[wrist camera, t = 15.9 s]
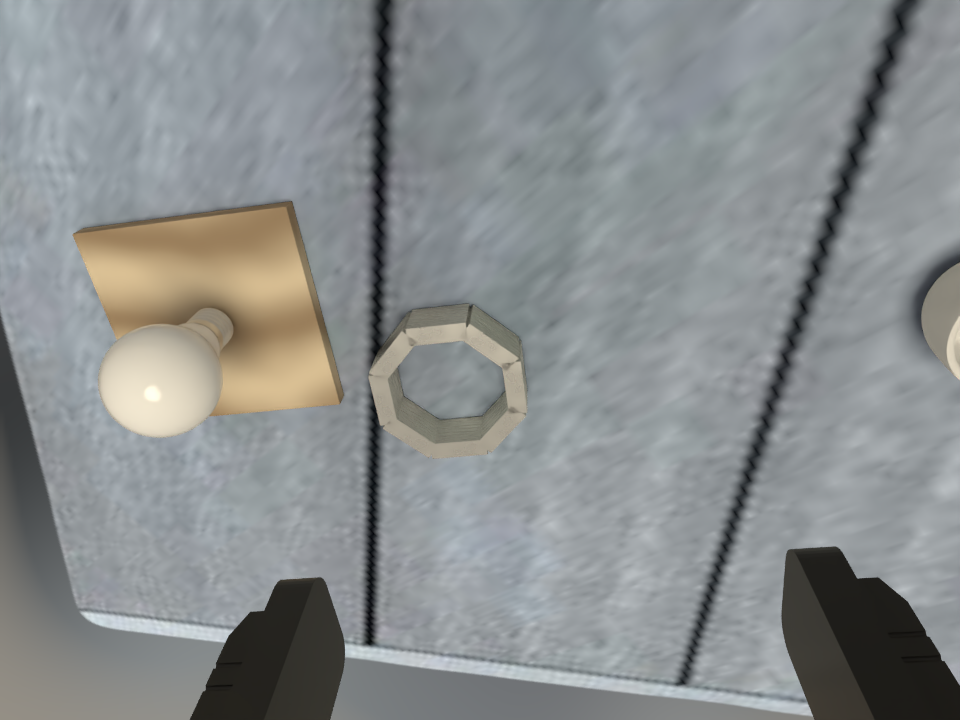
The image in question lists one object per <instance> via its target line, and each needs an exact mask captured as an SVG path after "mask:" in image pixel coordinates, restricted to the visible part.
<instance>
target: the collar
mask: <svg viewBox="0 0 960 720" xmlns="http://www.w3.org/2000/svg"><path fill="white" fill-rule="evenodd" d="M455 341H464V342H466V343H467V344H468V345H470V346H471V347H473V348H474V349H476V350H477V351H479V352H480V353H481V354H483V355H484V356H486V357H487V358H489V359H490V360H491V361H493V362H494V363H496V364H497V365H499V366H500V367H502V369H503V375H504V382H505V389H506V391H505V392H504V393H503V394H502V395H501V397H500V398H499V399H498V400H497V401H496V402H495V403H494V404H493V405H492V406H491V407H490V409H489V410H488V411H487V412H486V413H485V414H484V415H483V416H479V417H468V418H456V419H445V420H439V419H437V418H436V417H434V416H433V415H431V414H430V413H428V412H427V411H425V410H424V409H422V408H421V407H419V406H418V405H416V404H414V403H413V402H411V401H410V400H408V399H407V398H405V397H404V395H403V390H402V386H401V381H400V377H399V372H398V368H397V367H398V366H399V364H400V363H401V362H402V361H403V359H404V358H405V357H406V356H407V354H408V353H409V352H410V351H411V349H412V348H413V347H414V346H416V345H426V344H436V343H446V342H455ZM369 373H370V374H369V376H368V377H369V381H370V385H371V389H372V393H373V397H374V401H375V405H376V409H377V413H378V417H379V422H380V425H384V426H383V429H384V430H386V431H387V432H389V433H391V434H392V435H394V436H395V437H397V438H398V439H400V440H402V441H403V442H405V443H406V444H408V445H409V446H411V447H413V448H414V449H416V450H417V451H419V452H420V453H422V454H424V455H425V456H427V457H428V458H429V457H430V456H431V455H432V457H433V459H437V458H449V457H461V456H473V455H485V454H488V451H489V452H492V451H493V450H494V449H495V448H496V447H497V446H498V445H499V444H500V443H501V442H502V441H503V440H504V439H505V438H506V437H507V435H508V434H509V433H510V432H511V431H512V430H513V429H514V428H515V427H516V426H517V425H518V424H519V423H520V422H521V421H522V420H523V419H524V418H525V417H526V412H527V383H526V375H525V368H524V360H523V352H522V344H521V340H520V341H519V337H518V336H517V335H515V334H514V333H512V332H511V331H510V330H508V329H507V328H505V327H504V326H503V325H501V324H500V323H498V322H497V321H496V320H494V319H493V318H491V317H490V316H489V315H487V314H486V313H484V312H483V311H482V310H480V309H479V308H477V307H476V306H475V305H473V306H472V307H471V308H470V305H469V304H460V305H451V306H442V307H432V308H423V309H414V310H412V312H411V313H410V312H408V313H407V315H406V316H405V317H404V319H403V320H402V321H401V322H400V324H399V325H398V326H397V328H396V329H395V330H394V331H393V333H392V334H391V335H390V337H389V338H388V339H387V340H386V342H385V343H384V344H383V346H382V347H381V348H380V349H379V351H378V352H377V355H376V357H375V360H374V362H373V365H372V367H371V369H370V372H369Z"/></svg>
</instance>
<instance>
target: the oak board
mask: <svg viewBox="0 0 960 720" xmlns="http://www.w3.org/2000/svg"><path fill="white" fill-rule="evenodd" d="M73 237H74V239H75V242H76V244H77V246H78V249H79V251H80V253H81V256H82V258H83V260H84V263H85V265H86V268H87V270H88V272H89V275H90V277H91V279H92V282H93V284H94V286H95V289H96V291H97V294H98V296H99V298H100V301H101V303H102V305H103V308H104V310H105V312H106V315H107V317H108V320H109V322H110V324H111V327H112V329H113V331H114V334H115V336H116V339H117V340H118V339H119V338H121V337H122V336H123V335H125V334H126V333H128V332H130V331H132V330H134V329H136V328H139V327H142V326H146V325H151V324H172V325H180V324H183V323H186V322H187V321H188V320H189V319H190V318H192V316H194V315H195V313H196V312H198V311H199V310H201V309H204V308H215V309H218V310H220V311H222V312H223V313H225V314H226V315H227V316H228V317H229V319H230V320H231V322H232V324H233V330H234V331H233V336H232V338H231V339H230V340H229V342H228V343H227V344H226V345H225V346H224V347H223V349H222V350H221V351H220V357H219V361H220V363H221V367H222V372H223V388H222V393H221V396H220V399H219V401H218V403H217V405H216V407H215V409H214V410H213V412H212V413H211V414H210V416H219V415H229V414H240V413H251V412H261V411H272V410H283V409H294V408H304V407H315V406H326V405H336V404H340V403H341V401H342V398H343V396H344V394H343V390H342V386H341V383H340V379H339V375H338V371H337V368H336V364H335V360H334V357H333V353H332V349H331V345H330V342H329V338H328V334H327V331H326V327H325V323H324V319H323V316H322V312H321V308H320V304H319V301H318V297H317V293H316V290H315V286H314V282H313V278H312V275H311V271H310V267H309V264H308V260H307V256H306V252H305V249H304V245H303V241H302V237H301V234H300V230H299V226H298V223H297V219H296V215H295V211H294V208H293V204H292V201H290V202H283V203H275V204H267V205H260V206H252V207H244V208H237V209H229V210H221V211H214V212H206V213H198V214H191V215H183V216H175V217H168V218H160V219H152V220H144V221H137V222H129V223H121V224H114V225H106V226H98V227H91V228H83V229H81V230H79V231H78V232H76V233H74V234H73Z"/></svg>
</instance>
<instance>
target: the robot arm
mask: <svg viewBox="0 0 960 720" xmlns="http://www.w3.org/2000/svg"><path fill="white" fill-rule="evenodd" d="M782 628H783V634H784V639H785V643H786V647H787V650H788V653H789V656H790V658H791V661H792V663H793V666H794V669H795V671H796V674H797V676H798V679H799V681H800V684H801V686H802V689H803V691H804V694H805V697H806V699H807V702H808V704H809V707H810V709H811V712H812V714H813V717H814V719H815V720H960V685H959V684H958V682H957V681H956V679H955V677H954V676H953V674H952V673H951V671H950V669H949V668H948V666H947V664H946V663H945V661H942V660H941V655H940V653H939V652H938V650H937V648H936V647H935V645H934V644H933V642H932V640H931V639H930V637H927V636H926V631H925V629H924V627H923V626H922V624H921V623H920V621H919V619H918V618H917V616H916V615H915V613H914V611H913V610H912V608H911V606H910V605H909V603H908V602H907V601H906V600H905V599H904V598H902V597H901V596H900V595H899V594H898V593H896V592H895V591H894V590H893V589H892V588H890V587H889V586H888V585H887V584H886V583H884V582H883V581H882V580H881V579H880V578H860V579H857V578H856V576H855V574H854V572H853V570H852V569H851V567H850V565H849V563H848V561H847V560H846V558H845V556H844V554H843V553H842V551H841V550H840V549H839V548H838V547H820V548H804V549H789V550H788V551H787V554H786V561H785V574H784V587H783V600H782ZM344 660H345V644H344V638H343V634H342V631H341V627H340V624H339V621H338V618H337V615H336V612H335V609H334V606H333V603H332V600H331V597H330V594H329V591H328V588H327V585H326V583H325V581H324V579H323V578H321V577H318V578H302V579H286V580H280V581H279V582H277V584H276V585H275V587H274V589H273V592H272V594H271V596H270V599H269V601H268V603H267V606H266V608H265V611H257V612H250V613H249V614H248V615H247V616H246V617H245V619H244V620H243V621H242V622H241V623H240V624H239V625H238V626H237V627H236V629H235V630H234V631H233V632H232V633H231V634H230V635H229V636H228V639H227V641H226V643H225V645H224V647H223V649H222V651H221V654H220V656H219V658H218V660H217V662H216V669H213V671H212V673H211V675H210V678H209V680H208V682H207V684H206V690H205V691H204V692H203V693H202V695H201V697H200V699H199V701H198V703H197V706H196V708H195V710H194V712H193V714H192V716H191V718H190V720H330V718H331V714H332V711H333V707H334V703H335V699H336V696H337V692H338V688H339V685H340V681H341V677H342V673H343V668H344Z"/></svg>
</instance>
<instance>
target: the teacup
mask: <svg viewBox="0 0 960 720" xmlns="http://www.w3.org/2000/svg"><path fill="white" fill-rule="evenodd" d="M921 322H922V329H923V333H924V336H925V339H926V341H927V343H928V345H929V347H930V348H931V350H932V351H933V352H934V354H935V355H936V356H937V357H938V358H939V360H940V361H941V362H942V363H943V364H944V365H945V366H946V368H947V369H948V370H949V371H950V372H951V373H952V374H953V375H954V376H955V377H957V378H958V379H959V380H960V262H959V263H958V264H956V265H954V266H953V267H951V268H950V269H948V270H947V271H946V272H945V273H943V274H942V275H941V276H940V277H939V278H938V279H937V280H936V282H935V283H934V284H933V285H932V287H931V288H930V290H929V292H928V294H927V296H926V298H925V300H924V303H923V307H922V313H921Z"/></svg>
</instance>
